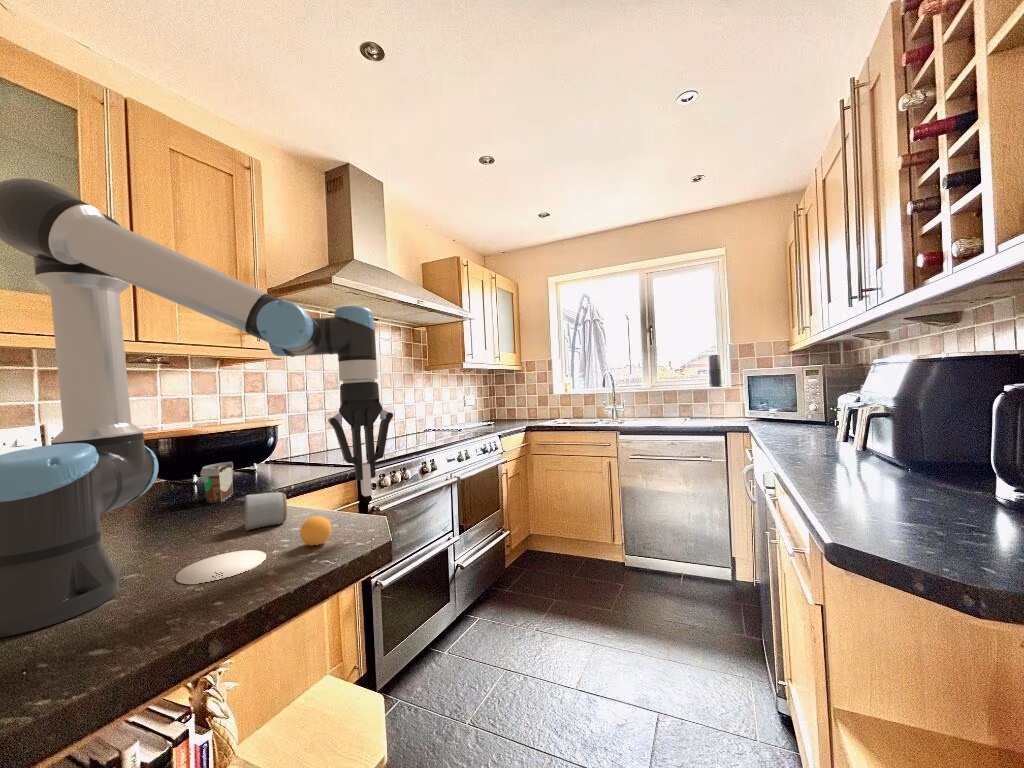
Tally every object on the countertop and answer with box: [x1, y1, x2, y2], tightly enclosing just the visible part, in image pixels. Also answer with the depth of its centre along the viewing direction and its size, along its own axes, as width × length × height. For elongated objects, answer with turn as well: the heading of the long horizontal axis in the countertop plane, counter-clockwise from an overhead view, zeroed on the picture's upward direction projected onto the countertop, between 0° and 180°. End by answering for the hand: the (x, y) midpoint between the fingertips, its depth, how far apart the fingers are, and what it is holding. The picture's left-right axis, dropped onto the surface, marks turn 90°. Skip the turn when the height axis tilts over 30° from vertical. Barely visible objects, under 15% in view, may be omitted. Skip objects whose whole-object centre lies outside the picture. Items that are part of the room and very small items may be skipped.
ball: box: [299, 515, 332, 547], centre depth 81 cm, size 6×6×6 cm
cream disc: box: [175, 549, 267, 585], centre depth 73 cm, size 13×13×1 cm
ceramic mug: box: [244, 491, 288, 531], centre depth 96 cm, size 11×8×8 cm
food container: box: [199, 461, 234, 504], centre depth 121 cm, size 12×6×10 cm, turn 17°
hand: (366, 494), depth 86 cm, fingers closed
